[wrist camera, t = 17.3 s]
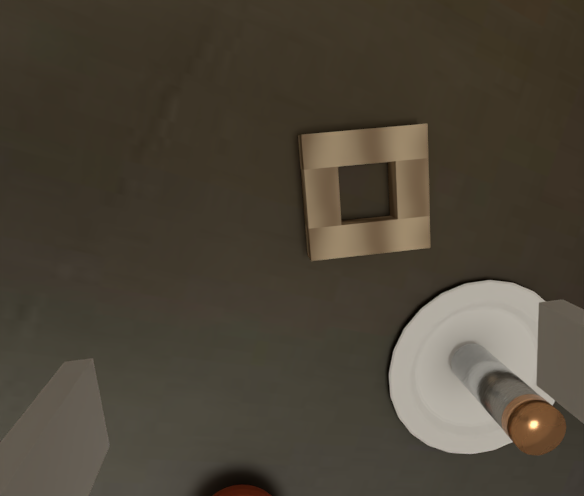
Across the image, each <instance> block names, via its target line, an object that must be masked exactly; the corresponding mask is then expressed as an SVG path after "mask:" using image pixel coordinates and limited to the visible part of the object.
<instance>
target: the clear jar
mask: <svg viewBox="0 0 584 496" xmlns="http://www.w3.org/2000/svg"><path fill="white" fill-rule="evenodd" d="M451 368H452V371H453V373H454V375H455V376H456V377H457V378H458V379H459V380H460V382H461V383H462V384H463V385H464V386H465V387H466V388H467V389H468V391H469V392H470V393H471V394H472V395H473V396H474V397H475V398H476V400H477V401H478V402H479V403H480V404H481V405H482V406H483V408H484V409H485V410H486V411H487V412H488V413H489V414H490V415H491V417H492V418H493V419H494V420H495V421H496V422H497V423H498V424H499V426H500V427H501V428H502V429H503V430H504V432H505V433H506V434H507V436H508V437H509V438H510V439H511V440H512V441H513V442H514V443H515V445H516V446H517V447H518V448H519V449H520V450H521V451H523V452H524V453H526V454H530V455H542V454H545V453H548V452H550V451H552V450H553V449H555V448H556V447H557V446H558V445H559V444H560V442H561V441H562V439H563V437H564V435H565V431H566V422H565V419H564V417H563V415H562V414H561V413H560V412H559V411H558V410H557V409H556V408H554V407H553V406H552V405H551V404H550V403H549V402H547V401H546V400H545V399H544V398H543V397H541V396H540V395H539V394H537V393H536V392H535V391H534V390H533V389H532V388H530V387H529V386H528V385H527V384H526V383H525V382H524V381H522V380H521V379H520V378H519V377H518V376H517V375H515V374H514V373H513V372H512V371H511V370H510V369H508V368H507V367H506V366H505V365H504V364H503V363H502V362H500V361H499V360H498V359H497V358H496V357H495V356H493V355H492V354H491V353H490V352H489V351H488V350H487V349H485V348H484V347H483V346H481V345H478V344H467V345H464V346H462V347H461V348H459V349H458V350H457V351H456V352H455V354H454V355H453V358H452V361H451Z"/></svg>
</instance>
